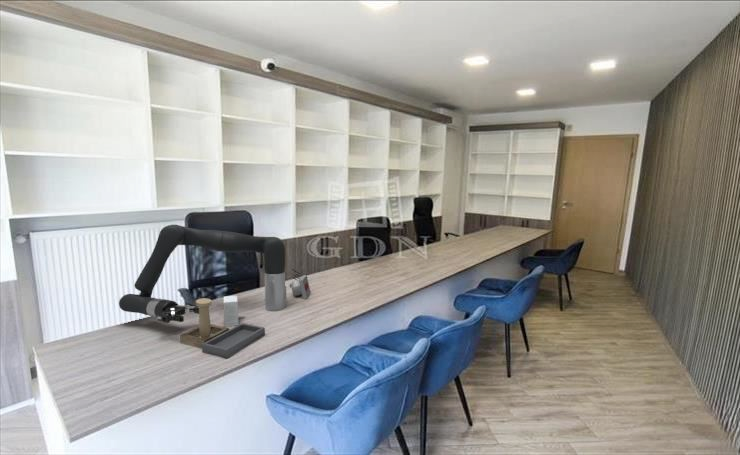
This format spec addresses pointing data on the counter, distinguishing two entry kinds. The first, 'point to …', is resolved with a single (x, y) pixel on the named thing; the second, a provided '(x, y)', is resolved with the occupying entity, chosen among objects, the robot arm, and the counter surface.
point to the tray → (233, 340)
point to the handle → (204, 317)
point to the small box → (230, 310)
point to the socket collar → (193, 334)
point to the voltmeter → (300, 286)
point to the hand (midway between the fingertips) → (192, 315)
